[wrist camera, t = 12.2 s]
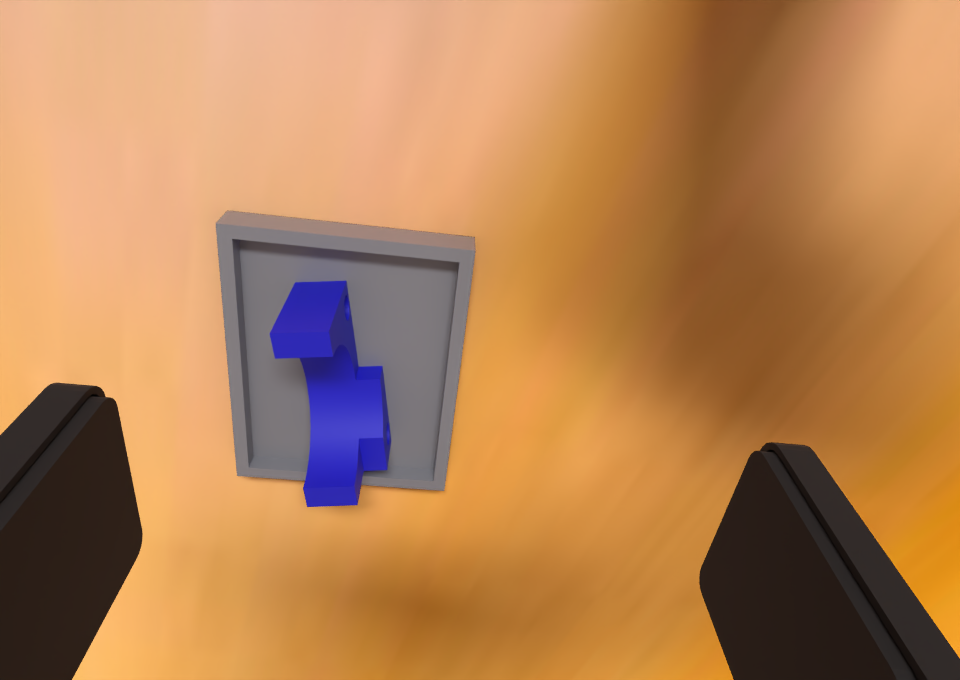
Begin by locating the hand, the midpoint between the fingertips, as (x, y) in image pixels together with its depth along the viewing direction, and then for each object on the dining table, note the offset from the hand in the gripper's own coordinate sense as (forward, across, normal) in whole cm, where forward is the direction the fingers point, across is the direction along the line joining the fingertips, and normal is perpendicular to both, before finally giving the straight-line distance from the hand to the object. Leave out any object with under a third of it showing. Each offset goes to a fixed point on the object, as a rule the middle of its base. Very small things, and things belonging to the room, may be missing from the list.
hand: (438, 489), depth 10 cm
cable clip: (+28, +5, +16) cm, 32 cm away
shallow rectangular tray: (+28, +5, +16) cm, 33 cm away
